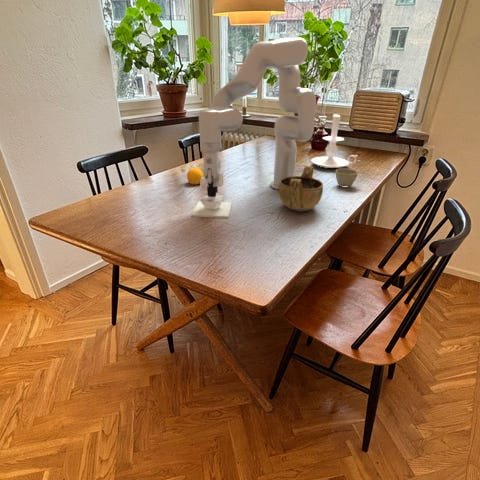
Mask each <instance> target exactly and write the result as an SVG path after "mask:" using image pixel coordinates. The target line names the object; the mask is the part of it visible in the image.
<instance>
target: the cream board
mask: <svg viewBox="0 0 480 480" xmlns="http://www.w3.org/2000/svg"><path fill="white" fill-rule="evenodd" d="M232 206H233V201H223V202H222V204H221V206H220V207H218V208H217V209H216V210H213V209H207V208H205V207H204V205H203V204H202V203H201V201H200V200H198V201H197V204H196V206H195V207H194V209H193V211H192V213H191V217H196V218H216V219H217V218H218V219H220V218H221V219H230V214H231V210H232V208H233V207H232Z"/></svg>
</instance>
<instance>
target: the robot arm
mask: <svg viewBox="0 0 480 480" xmlns="http://www.w3.org/2000/svg"><path fill="white" fill-rule="evenodd" d="M308 54H309V45H308V42H307V41H306V40H305V39H304V38H302V37H288V38H287V37H281V38H274V39H271V40H269V41H267V40H266V41H258V42H256V43H254V44H253V45H252V47H251V48H250V49H249V51H248V53H247V54H246V56H245V58H244V61H242V64H241V66H240V68H239V70H238V71H237V73H236V75H235V76H234V77H233V78H232V79H231V80H230V81H228V82H227V83H226V84H225V85H224V86H223V87H222V88H220V89H219V90H218V92H217V93H216V94H215V96H214V97H213V100H212V101H211V103H210V105H209V107H208V108H205V109H201V110H200V111H199V112H198V123H199V124H198V127H199V142H200V143H199V144H200V145H199V146H200V152H202V153H203V176H204V177H205V179H207V185H206V190H207V191H206V192H207V193H206V194H207V195H208V197H216V195H217V193H218V192H219V191H218V188H219V187H217V186H215V179H216V180H217V179H218V178H219V172H222V170H221V156H220V154H221V153H220V152H221V151H222V131H235V130H237V129H239V128H240V127H241V126H242V124H243V120H244V119H243V115H242V112H241V111H240V110H238V109H237V108H235V107H230V106H231V105H232V104H234V102H236V101H237V100H239V99H241V98H243V97H246V96H248V95H250V94H252V93H254V92H255V91H256V90H257V88H258V86H259V84H260V83H261V81H262V80H263V77H264V75H265V73H266V72H267V70H270V69H271V70H273V69H274V70H275V69H276V71H277V73H278V107H279V109H280V110H281V111H283V112H287V113H293V114H297V115H293V114H282V115H280V116H278V118H276V120H275V123H274V126H273V127H274V135H275V152H274V153H275V154H274V167H273V169H274V170H273V180H271V181H270V183H269V186H270V187H271V188H273V189H274V188H275V190H278V189H279V184H280V180H281V179H282V178H285V177H291V176H296V175H295V174H296V171H295V170H296V162H297V152H298V148H297V143H296V141H298V142H307V141H309V140H310V139H311V138H312V137H313V134H314V130H315V124H316V122H315V121H316V109H317V98H316V94H315V92H314V91H313V90H312V89H311V88H307V87H301V70H300V67H299V65H301V64H302V63H304V62H305V60H306V59H307V58H308ZM212 177H213V178H212ZM207 195H206V196H207Z"/></svg>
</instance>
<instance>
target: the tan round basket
mask: <svg viewBox="0 0 480 480" xmlns="http://www.w3.org/2000/svg"><path fill="white" fill-rule="evenodd" d="M313 175H314V166H309V165H304V167H303V171H302V174H301V175H298V176H296V175H295V176H291V177H285V178H282V179H281V180H280V184H279V190H278V196H279V199H280V200H281V202H282V204H283V205H284V206H285V207H287V208H288V209H290V210H292V211H296V212H307V211H309V210H312V209H313V208H315V207H316V206H317V205H318V204H319V202H320V201H321V198H322V195H323V193H324V192H323V191H324V183H323V181H321V180H319V179H318V178H314V177H313Z"/></svg>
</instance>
